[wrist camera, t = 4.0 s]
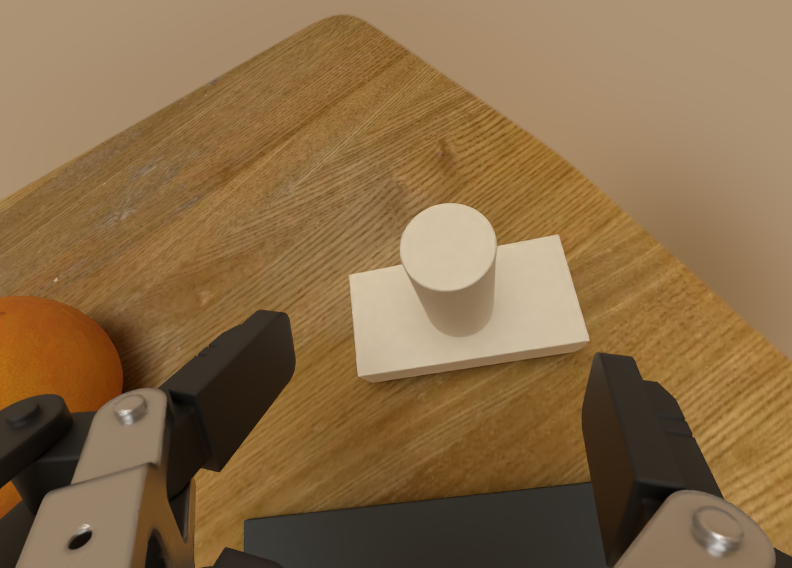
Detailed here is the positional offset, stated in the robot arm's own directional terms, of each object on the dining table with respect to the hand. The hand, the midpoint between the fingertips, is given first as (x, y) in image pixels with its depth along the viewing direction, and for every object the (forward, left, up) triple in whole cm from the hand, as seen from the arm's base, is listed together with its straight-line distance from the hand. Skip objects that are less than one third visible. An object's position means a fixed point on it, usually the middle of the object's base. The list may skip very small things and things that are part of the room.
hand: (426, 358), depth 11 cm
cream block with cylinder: (-1, -4, -10) cm, 11 cm away
